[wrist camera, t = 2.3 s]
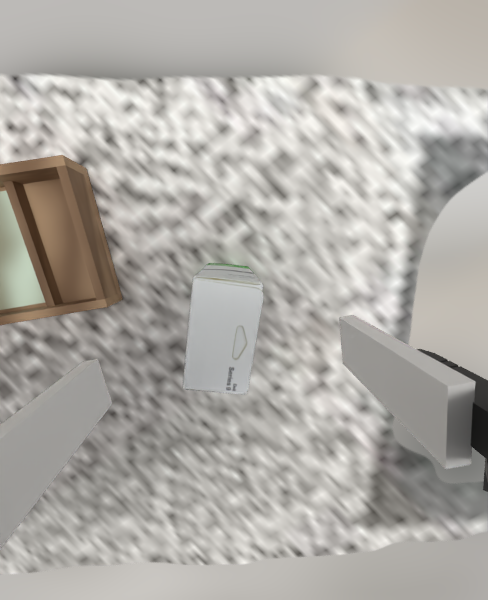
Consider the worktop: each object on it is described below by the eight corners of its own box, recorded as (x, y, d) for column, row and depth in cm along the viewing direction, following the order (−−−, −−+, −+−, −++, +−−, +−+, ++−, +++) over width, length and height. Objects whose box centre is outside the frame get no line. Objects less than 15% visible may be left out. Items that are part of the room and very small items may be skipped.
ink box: (206, 261, 27) (189, 270, 15) (250, 266, 27) (267, 280, 15) (199, 334, 28) (179, 393, 17) (241, 338, 29) (249, 398, 17)
